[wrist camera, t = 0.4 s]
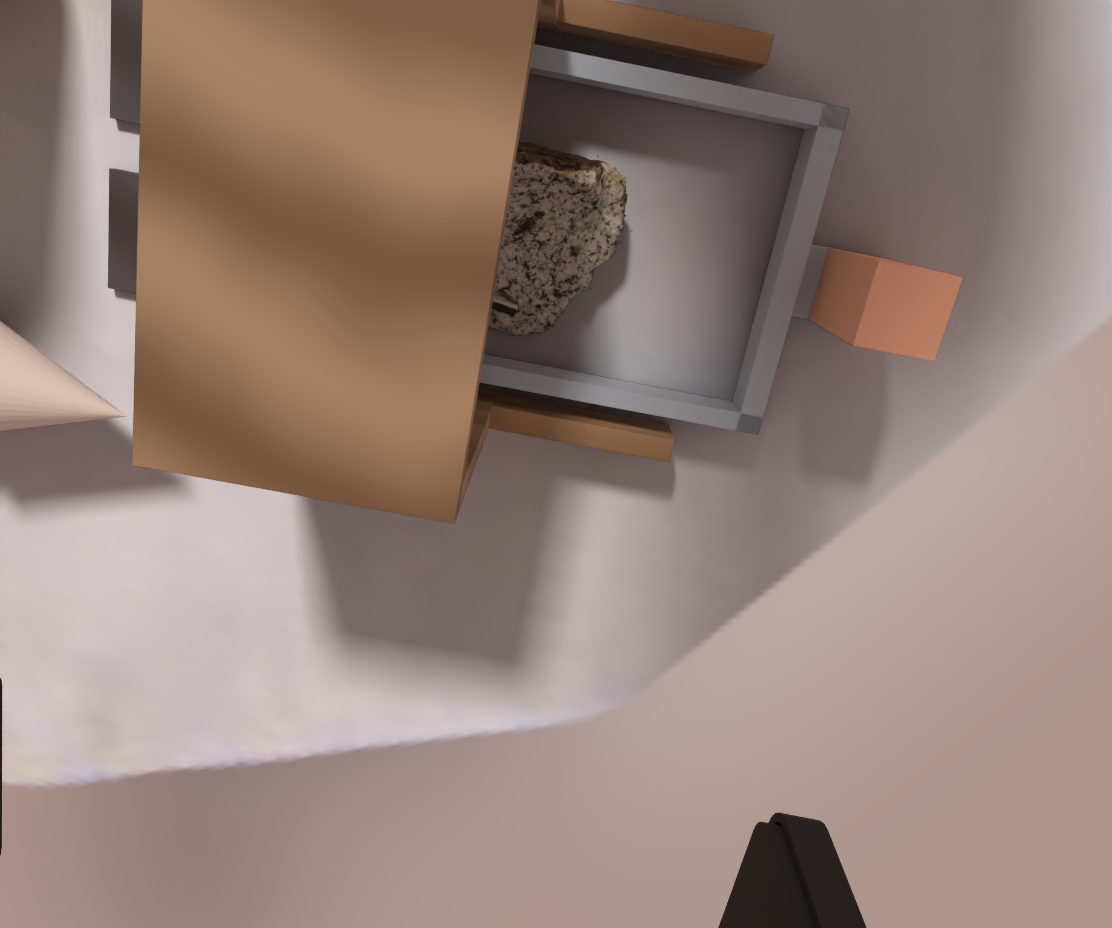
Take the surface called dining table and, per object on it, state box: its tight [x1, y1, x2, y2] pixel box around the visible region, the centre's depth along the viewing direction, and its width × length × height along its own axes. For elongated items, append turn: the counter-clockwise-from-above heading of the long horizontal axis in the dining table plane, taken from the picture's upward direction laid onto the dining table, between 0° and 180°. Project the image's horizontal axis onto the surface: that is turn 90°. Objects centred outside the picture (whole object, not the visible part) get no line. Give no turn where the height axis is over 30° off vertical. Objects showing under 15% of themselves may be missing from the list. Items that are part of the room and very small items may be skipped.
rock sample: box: [488, 142, 632, 335], centre depth 34 cm, size 10×8×9 cm
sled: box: [480, 44, 963, 435], centre depth 32 cm, size 13×24×7 cm, turn 79°
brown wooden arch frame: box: [108, 0, 774, 524], centre depth 29 cm, size 17×26×13 cm, turn 79°
